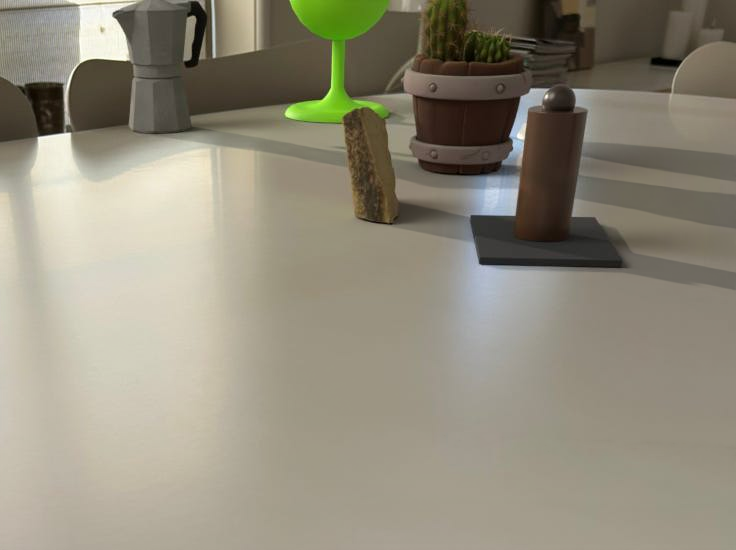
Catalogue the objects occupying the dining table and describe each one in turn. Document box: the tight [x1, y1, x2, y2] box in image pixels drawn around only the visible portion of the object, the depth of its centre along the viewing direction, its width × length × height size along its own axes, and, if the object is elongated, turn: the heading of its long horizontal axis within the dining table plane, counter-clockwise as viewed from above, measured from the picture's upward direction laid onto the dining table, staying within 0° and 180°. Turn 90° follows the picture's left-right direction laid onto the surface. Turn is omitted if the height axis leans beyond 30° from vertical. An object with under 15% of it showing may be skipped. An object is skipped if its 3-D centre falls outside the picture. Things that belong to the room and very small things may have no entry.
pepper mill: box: [513, 83, 589, 242], centre depth 94 cm, size 5×5×12 cm
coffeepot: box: [111, 0, 208, 134], centre depth 149 cm, size 15×9×18 cm, turn 128°
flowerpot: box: [400, 0, 535, 175], centre depth 122 cm, size 14×15×20 cm
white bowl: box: [516, 121, 527, 142], centre depth 141 cm, size 5×3×5 cm
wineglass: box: [284, 0, 392, 124], centre depth 158 cm, size 16×16×18 cm
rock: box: [341, 107, 400, 225], centre depth 107 cm, size 11×9×10 cm
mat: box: [469, 214, 623, 268], centre depth 97 cm, size 12×16×1 cm
